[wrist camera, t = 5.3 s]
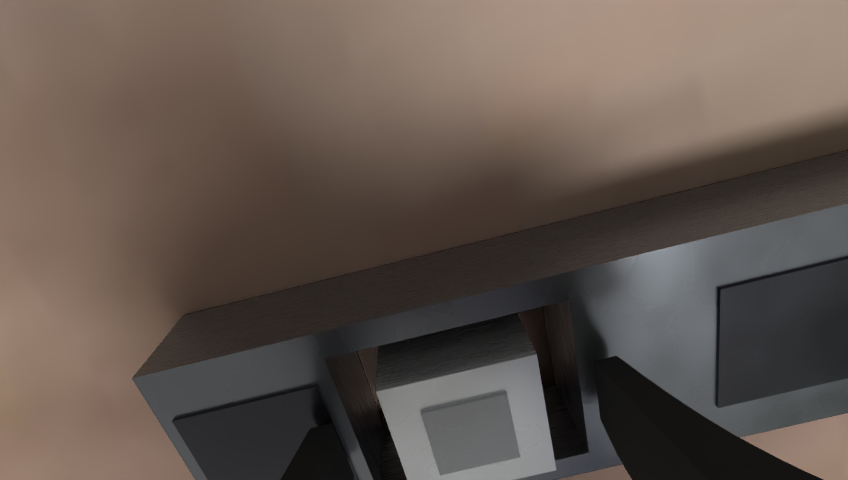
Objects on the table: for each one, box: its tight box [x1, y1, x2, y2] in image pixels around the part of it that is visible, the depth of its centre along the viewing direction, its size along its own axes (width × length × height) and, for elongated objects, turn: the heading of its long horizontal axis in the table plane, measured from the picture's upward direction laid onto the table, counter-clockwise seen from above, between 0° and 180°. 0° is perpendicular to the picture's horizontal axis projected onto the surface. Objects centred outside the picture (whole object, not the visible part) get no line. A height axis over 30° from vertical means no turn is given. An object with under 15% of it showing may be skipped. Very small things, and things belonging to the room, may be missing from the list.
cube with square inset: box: [376, 313, 556, 480], centre depth 13 cm, size 4×4×4 cm
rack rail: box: [132, 150, 848, 480], centre depth 14 cm, size 7×22×3 cm, turn 103°
